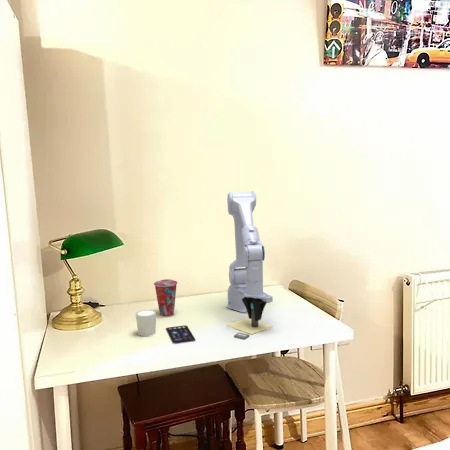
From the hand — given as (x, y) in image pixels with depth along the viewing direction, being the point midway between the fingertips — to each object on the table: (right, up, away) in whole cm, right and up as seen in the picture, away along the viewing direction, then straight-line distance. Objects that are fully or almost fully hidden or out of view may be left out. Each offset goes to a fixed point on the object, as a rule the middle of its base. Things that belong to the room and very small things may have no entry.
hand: (254, 318), depth 170 cm
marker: (0, -2, 0) cm, 2 cm away
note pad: (-2, -3, +1) cm, 3 cm away
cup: (-32, -1, +16) cm, 35 cm away
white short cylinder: (-36, -4, -3) cm, 36 cm away
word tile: (-5, -4, -8) cm, 10 cm away
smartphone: (-25, -5, -5) cm, 26 cm away
